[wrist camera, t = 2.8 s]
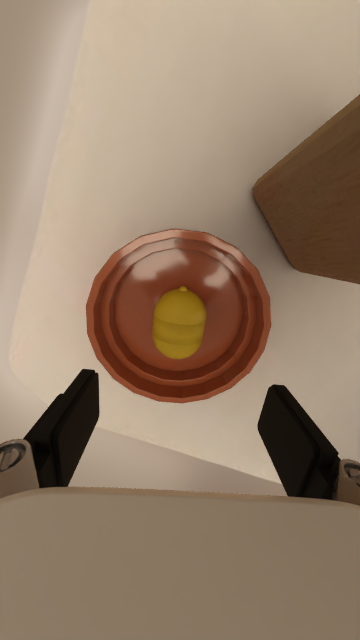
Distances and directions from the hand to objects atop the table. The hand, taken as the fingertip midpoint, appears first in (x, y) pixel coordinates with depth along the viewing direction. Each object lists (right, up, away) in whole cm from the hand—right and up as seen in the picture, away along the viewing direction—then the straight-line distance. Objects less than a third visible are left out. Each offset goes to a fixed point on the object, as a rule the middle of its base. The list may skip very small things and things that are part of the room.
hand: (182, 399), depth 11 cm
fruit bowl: (0, +5, +13) cm, 14 cm away
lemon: (0, +5, +12) cm, 13 cm away
